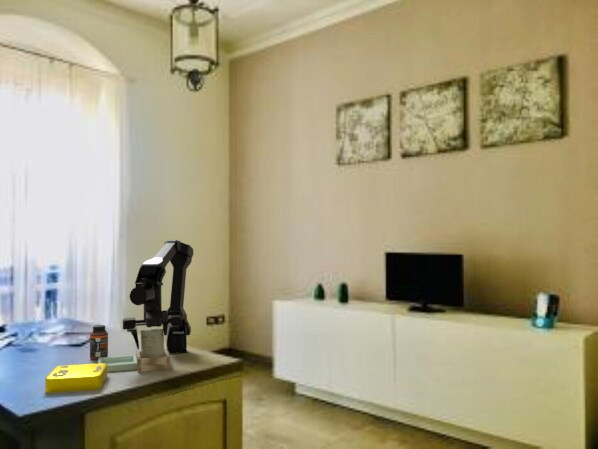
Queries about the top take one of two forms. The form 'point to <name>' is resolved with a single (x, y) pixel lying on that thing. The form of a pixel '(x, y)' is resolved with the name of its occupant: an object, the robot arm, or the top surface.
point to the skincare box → (152, 343)
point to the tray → (119, 362)
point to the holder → (152, 362)
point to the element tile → (76, 378)
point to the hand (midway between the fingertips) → (152, 348)
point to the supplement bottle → (98, 342)
